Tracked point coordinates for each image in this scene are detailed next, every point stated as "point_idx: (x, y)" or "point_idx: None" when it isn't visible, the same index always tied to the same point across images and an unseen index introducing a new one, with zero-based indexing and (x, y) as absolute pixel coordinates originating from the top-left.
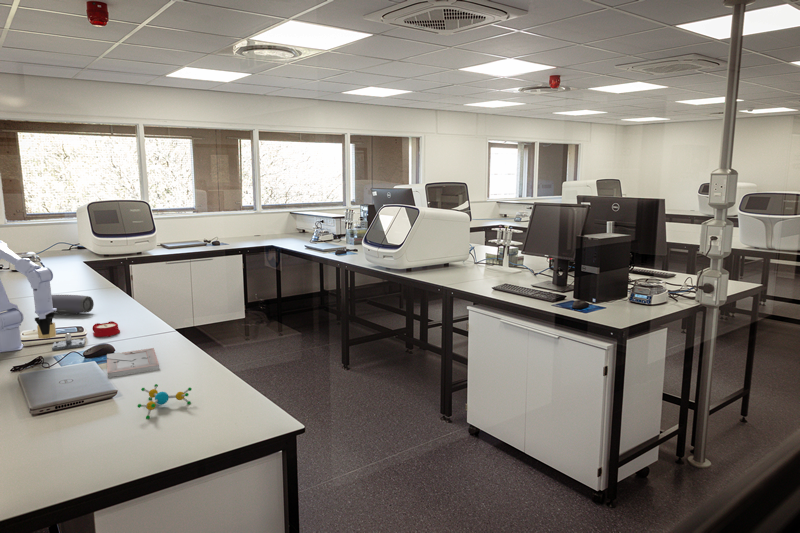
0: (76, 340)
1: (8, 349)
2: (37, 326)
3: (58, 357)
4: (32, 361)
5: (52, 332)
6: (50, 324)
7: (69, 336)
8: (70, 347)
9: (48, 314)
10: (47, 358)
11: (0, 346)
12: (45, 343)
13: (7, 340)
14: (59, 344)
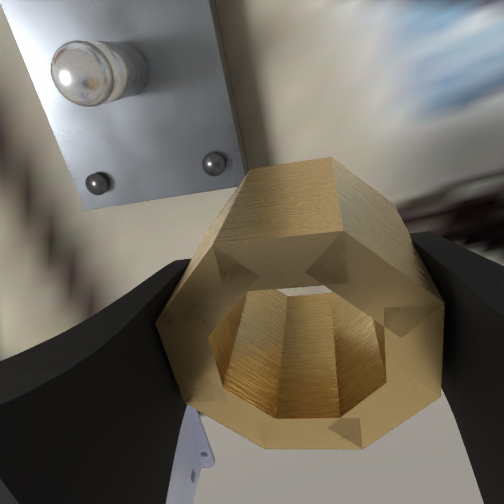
0: (44, 11)
1: (190, 419)
2: (364, 436)
3: (493, 62)
4: (493, 245)
5: (368, 202)
6: (355, 291)
7: (104, 51)
8: (218, 27)
9: (74, 493)
10: (470, 155)
11: (186, 465)
12: (52, 269)
13: (174, 474)
14: (158, 147)
